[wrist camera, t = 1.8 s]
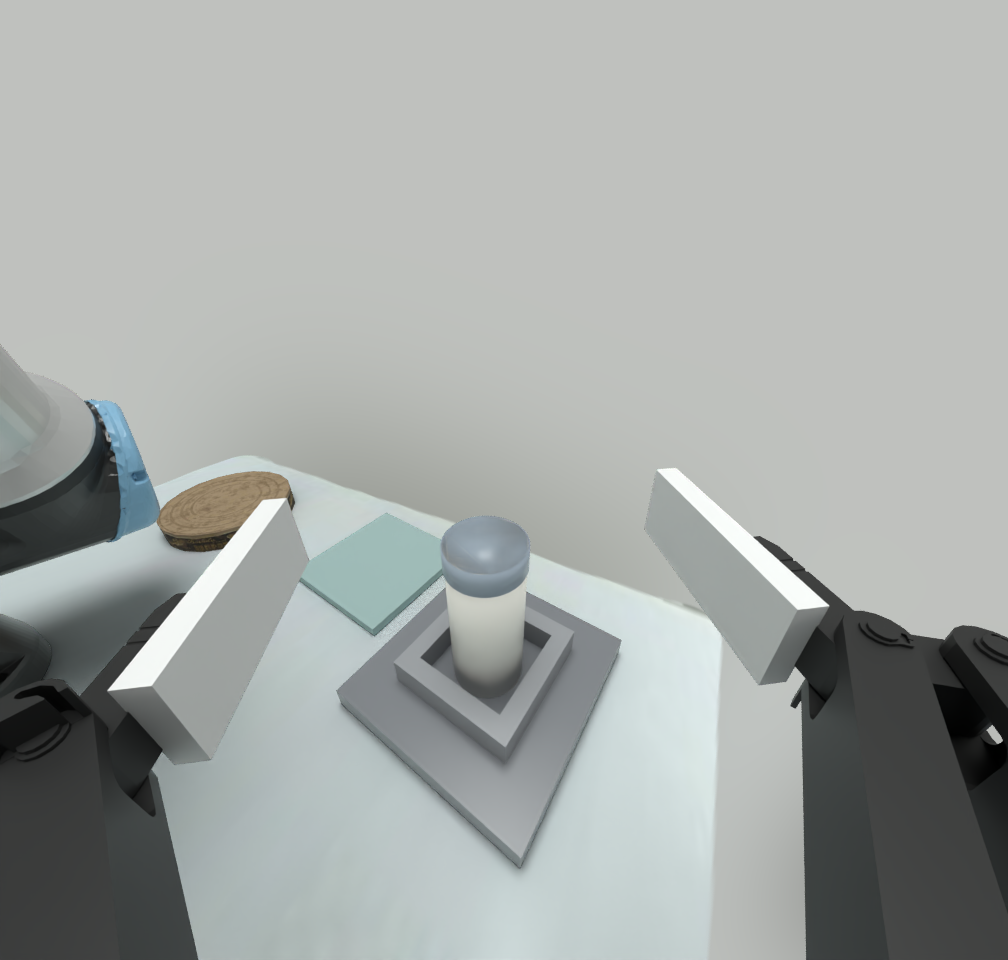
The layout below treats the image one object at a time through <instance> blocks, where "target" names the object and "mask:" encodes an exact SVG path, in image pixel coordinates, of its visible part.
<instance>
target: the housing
mask: <svg viewBox="0 0 1008 960" xmlns="http://www.w3.org/2000/svg"><path fill="white" fill-rule="evenodd" d="M620 644H621V640H620V639H618V638H616V637H614V636H612V635H610V634H608V633H606V632H604V631H603V630H601V629H599V628H597V627H595V626H593V625H591V624H589V623H587V622H585V621H583V620H581V619H579V618H577V617H575V616H573V615H571V614H569V613H567V612H565V611H563V610H561V609H559V608H557V607H555V606H554V605H552V604H550V603H548V602H546V601H544V600H542V599H540V598H538V597H536V596H534V595H532V594H530V593H528V592H526V603H525V621H524V638H523V656H522V670H521V675H520V677H519V679H518V681H517V683H516V684H515V685H514V687H513V688H512V689H511V690H509V691H508V692H506V693H505V694H503V695H501V696H498V697H494V698H480V697H476V696H473V695H471V694H470V693H468V692H467V691H466V690H464V689H463V688H462V687H461V686H460V684H459V683H458V681H457V679H456V676H455V673H454V664H453V655H452V645H451V635H450V625H449V615H448V606H447V596H446V588H444V589H443V590H442V591H441V592H440V593H439V594H438V595H437V596H436V597H435V598H434V599H433V600H432V601H431V602H430V603H429V604H428V605H426V606H425V607H424V608H423V609H422V610H421V611H420V612H419V613H418V614H417V615H416V616H415V617H414V618H413V619H412V620H411V621H410V622H408V623H407V624H406V625H405V626H404V627H403V628H402V629H401V630H400V631H399V632H398V633H397V634H396V635H395V636H394V637H393V638H392V639H390V640H389V641H388V642H387V643H386V644H385V645H384V646H383V647H382V648H381V649H380V650H379V651H378V652H377V653H376V654H375V655H374V656H372V657H371V658H370V659H369V660H368V661H367V662H366V663H365V664H364V665H363V666H362V667H361V668H360V669H359V670H358V671H357V672H356V673H354V674H353V675H352V676H351V677H350V678H349V679H348V680H347V681H346V682H345V683H344V684H343V685H342V686H341V687H340V688H339V689H338V690H336V691H337V694H338V696H339V699H340V701H341V704H342V705H343V706H344V707H346V708H347V709H348V710H349V711H350V712H351V713H352V714H353V715H354V716H355V717H356V718H357V719H359V720H360V721H361V722H362V723H363V724H364V725H365V726H366V727H367V728H368V729H369V730H370V731H372V732H373V733H374V734H375V735H376V736H377V737H378V738H379V739H380V740H381V741H382V742H383V743H385V744H386V745H387V746H388V747H389V748H390V749H391V750H392V751H393V752H394V753H395V754H396V755H398V756H399V757H400V758H401V759H402V760H403V761H404V762H405V763H406V764H407V765H408V766H409V767H411V768H412V769H413V770H414V771H415V772H416V773H417V774H418V775H419V776H420V777H421V778H422V779H424V780H425V781H426V782H427V783H428V784H429V785H430V786H431V787H432V788H433V789H434V790H435V791H437V792H438V793H439V794H440V795H441V796H442V797H443V798H444V799H445V800H446V801H447V802H448V803H450V804H451V805H452V806H453V807H454V808H455V809H456V810H457V811H458V812H459V813H460V814H461V815H463V816H464V817H465V818H466V819H467V820H468V821H469V822H470V823H471V824H472V825H473V826H474V827H475V828H477V829H478V830H479V831H480V832H481V833H482V834H483V835H484V836H485V837H486V838H487V839H488V840H490V841H491V842H492V843H493V844H494V845H495V846H496V847H497V848H498V849H499V850H500V851H501V852H503V853H504V854H505V855H506V856H507V857H508V858H509V859H510V860H511V861H512V862H513V863H514V864H516V865H517V866H518V867H519V868H521V865H522V863H523V861H524V859H525V857H526V854H527V852H528V850H529V848H530V846H531V843H532V841H533V839H534V837H535V835H536V832H537V830H538V828H539V826H540V824H541V821H542V819H543V817H544V815H545V813H546V810H547V808H548V806H549V804H550V802H551V799H552V797H553V795H554V793H555V791H556V788H557V786H558V784H559V782H560V780H561V777H562V775H563V773H564V771H565V769H566V766H567V764H568V762H569V760H570V758H571V756H572V753H573V751H574V749H575V747H576V745H577V742H578V740H579V738H580V736H581V734H582V731H583V729H584V727H585V725H586V723H587V720H588V718H589V716H590V714H591V712H592V709H593V707H594V705H595V703H596V701H597V698H598V696H599V694H600V692H601V690H602V687H603V685H604V683H605V681H606V679H607V676H608V674H609V672H610V670H611V668H612V665H613V663H614V661H615V659H616V657H617V654H618V651H619V648H620Z"/></svg>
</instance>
